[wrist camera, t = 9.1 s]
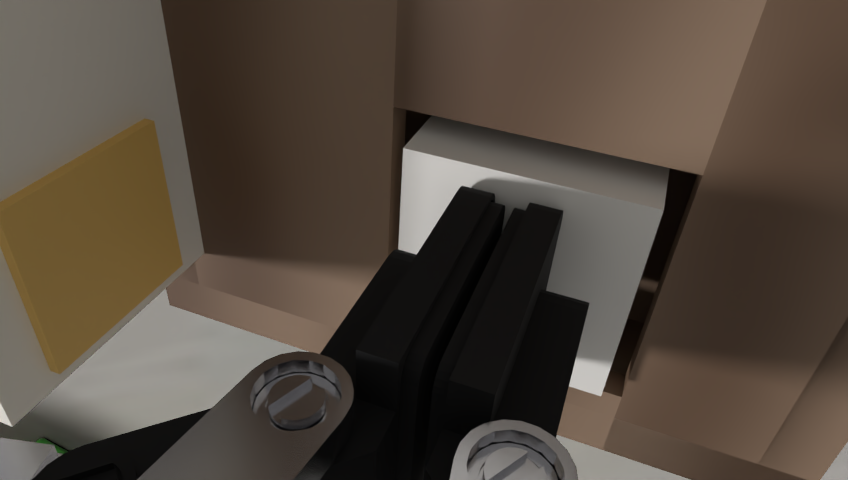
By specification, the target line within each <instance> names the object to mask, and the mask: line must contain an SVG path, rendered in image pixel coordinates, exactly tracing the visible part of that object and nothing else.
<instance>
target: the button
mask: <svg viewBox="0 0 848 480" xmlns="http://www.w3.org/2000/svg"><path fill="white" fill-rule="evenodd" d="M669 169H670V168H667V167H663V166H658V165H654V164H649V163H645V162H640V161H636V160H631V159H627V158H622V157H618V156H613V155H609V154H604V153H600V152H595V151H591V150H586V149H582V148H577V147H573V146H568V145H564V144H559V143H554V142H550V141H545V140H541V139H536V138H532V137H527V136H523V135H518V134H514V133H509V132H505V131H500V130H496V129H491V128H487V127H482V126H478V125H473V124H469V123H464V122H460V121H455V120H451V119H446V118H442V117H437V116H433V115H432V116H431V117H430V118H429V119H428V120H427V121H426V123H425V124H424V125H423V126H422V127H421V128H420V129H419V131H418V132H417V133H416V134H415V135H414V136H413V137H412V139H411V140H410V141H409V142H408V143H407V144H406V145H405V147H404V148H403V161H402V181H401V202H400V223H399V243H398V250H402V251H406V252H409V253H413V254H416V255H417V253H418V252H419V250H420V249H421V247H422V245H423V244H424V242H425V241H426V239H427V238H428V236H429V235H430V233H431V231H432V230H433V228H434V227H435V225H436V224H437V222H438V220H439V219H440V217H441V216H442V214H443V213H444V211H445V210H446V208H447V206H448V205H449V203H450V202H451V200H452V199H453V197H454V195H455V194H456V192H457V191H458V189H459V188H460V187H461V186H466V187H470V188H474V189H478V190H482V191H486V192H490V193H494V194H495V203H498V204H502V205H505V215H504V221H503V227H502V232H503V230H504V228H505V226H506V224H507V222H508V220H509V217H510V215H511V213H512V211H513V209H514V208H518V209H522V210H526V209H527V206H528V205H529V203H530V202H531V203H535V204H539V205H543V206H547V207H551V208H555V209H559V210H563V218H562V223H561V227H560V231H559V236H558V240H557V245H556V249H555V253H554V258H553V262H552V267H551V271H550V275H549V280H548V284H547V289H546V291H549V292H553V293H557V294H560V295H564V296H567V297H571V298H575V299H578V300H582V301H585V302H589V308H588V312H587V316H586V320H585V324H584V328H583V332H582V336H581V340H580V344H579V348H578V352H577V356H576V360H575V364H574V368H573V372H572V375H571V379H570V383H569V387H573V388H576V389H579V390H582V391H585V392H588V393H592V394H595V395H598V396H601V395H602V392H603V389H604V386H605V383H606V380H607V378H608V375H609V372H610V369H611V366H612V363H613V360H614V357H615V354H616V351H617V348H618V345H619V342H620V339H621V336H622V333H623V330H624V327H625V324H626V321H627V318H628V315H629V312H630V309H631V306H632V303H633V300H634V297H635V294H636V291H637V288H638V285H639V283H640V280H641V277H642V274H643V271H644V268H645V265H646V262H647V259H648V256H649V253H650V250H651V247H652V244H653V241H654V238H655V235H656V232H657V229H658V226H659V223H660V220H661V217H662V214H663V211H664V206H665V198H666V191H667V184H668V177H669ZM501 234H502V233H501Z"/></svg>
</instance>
